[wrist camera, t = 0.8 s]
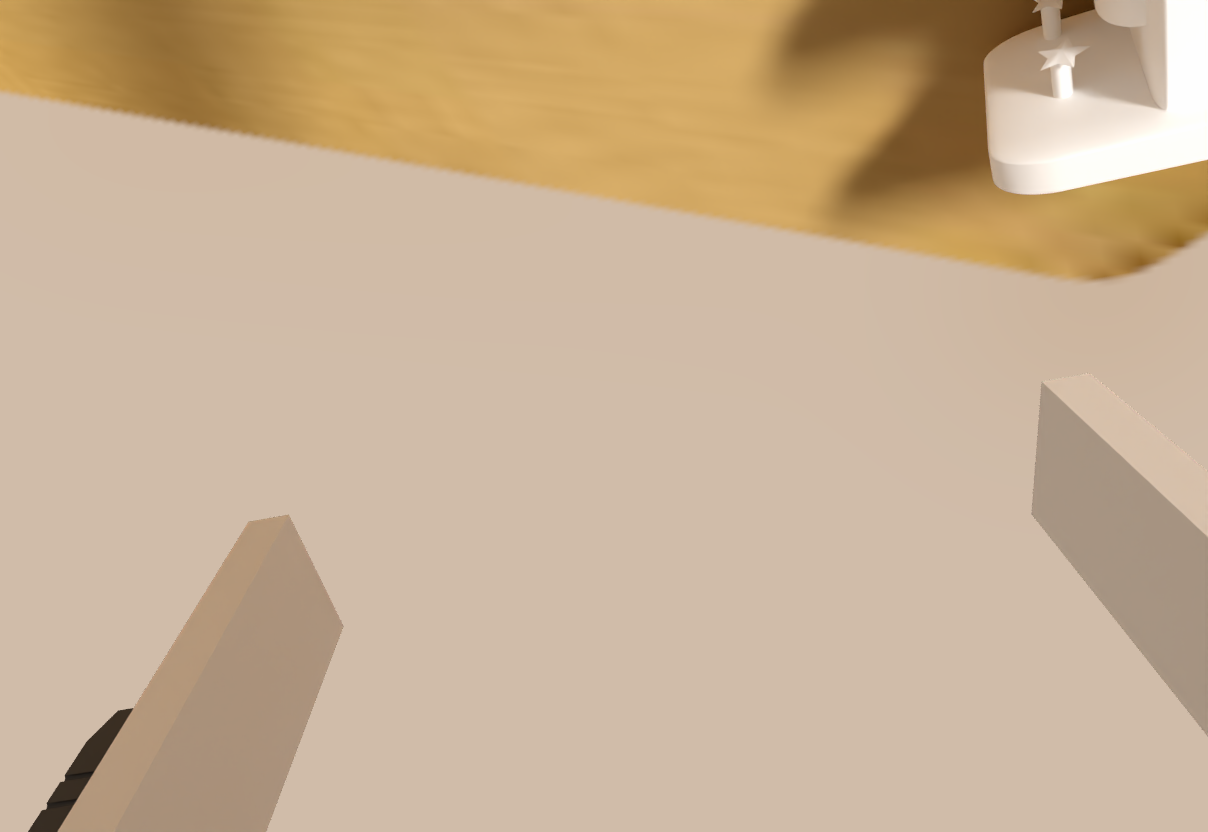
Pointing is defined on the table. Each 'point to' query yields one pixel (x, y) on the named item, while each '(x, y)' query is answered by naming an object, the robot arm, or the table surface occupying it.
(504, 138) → the table surface
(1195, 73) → the white notched block
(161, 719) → the robot arm
